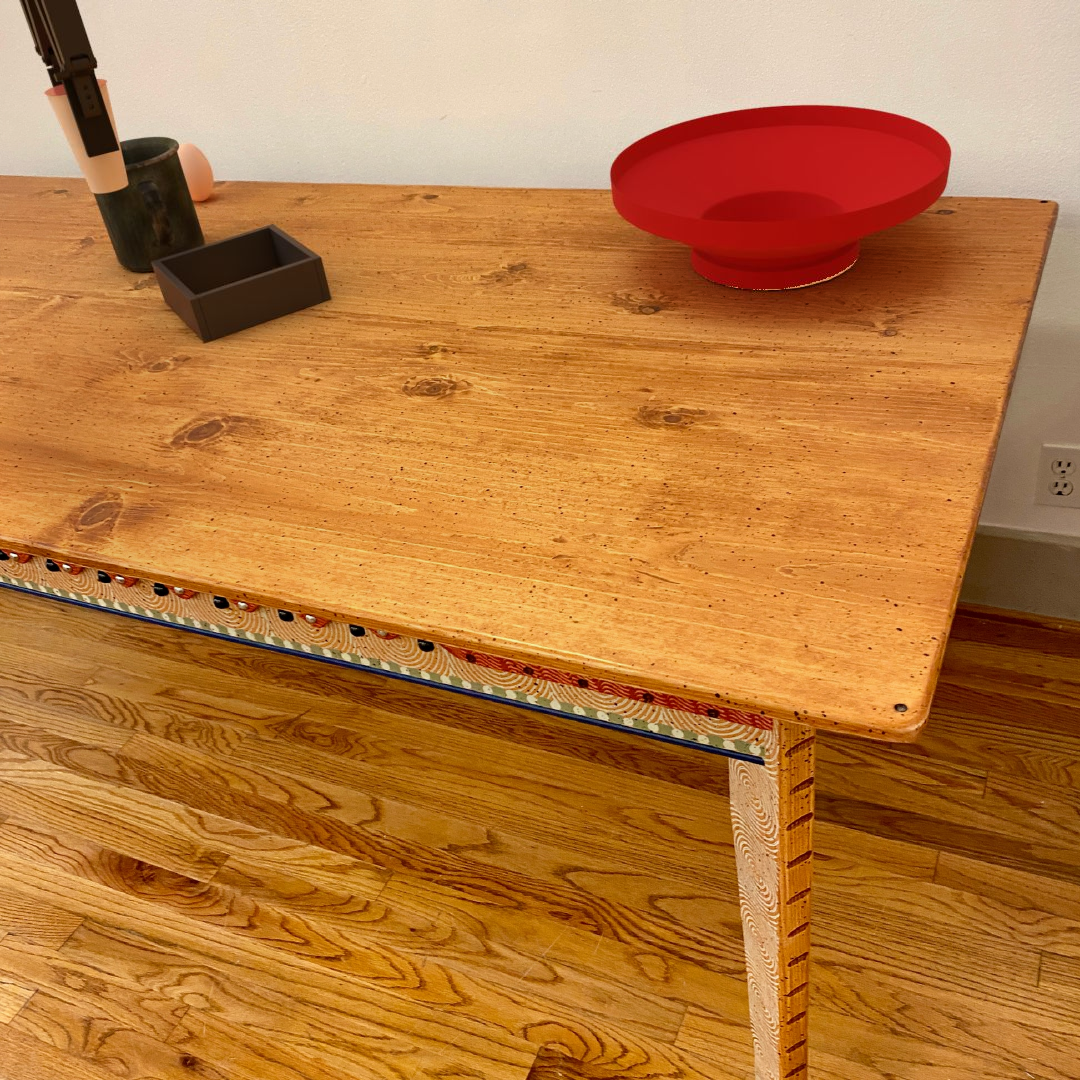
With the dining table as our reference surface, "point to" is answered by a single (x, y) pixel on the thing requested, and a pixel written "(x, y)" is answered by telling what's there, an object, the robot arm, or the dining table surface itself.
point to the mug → (150, 206)
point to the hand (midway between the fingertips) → (95, 146)
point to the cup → (98, 170)
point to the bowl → (779, 188)
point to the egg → (196, 171)
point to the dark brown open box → (241, 281)
